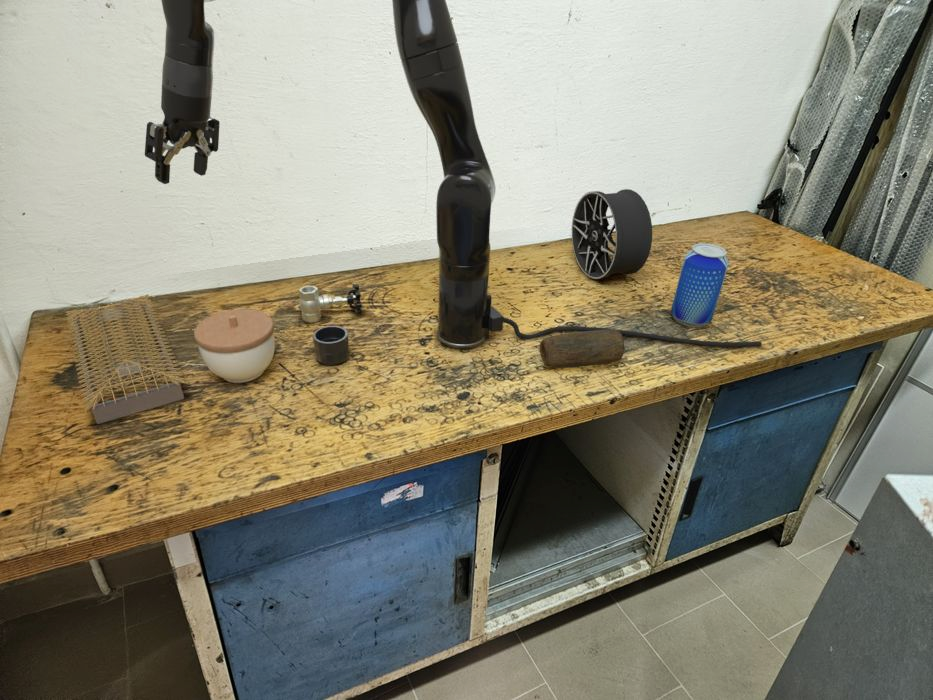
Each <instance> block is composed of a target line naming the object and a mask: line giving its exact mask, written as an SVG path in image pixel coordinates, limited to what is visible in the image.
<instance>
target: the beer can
mask: <svg viewBox="0 0 933 700" xmlns="http://www.w3.org/2000/svg"><path fill="white" fill-rule="evenodd" d="M727 255H728V252H727V250H726V249H725V248H723V247H722V246H719V245H717V244H713V243H708V242H707V243H706V242H705V243H704V242H701V243H695V244H693V245H692V246H691V249H690V250H689V251H688V252H686V254H685V255H684V258H683V263H682V266H681V270H680V274H679V277H678V282H677V284H676V290H675V293H674V297H673V300H672V305H671V309H670V312H671V315H672V317H673V320H674V321H675V322H676V323H677V324H680V325H682V326H685V327H688V328H695V329H697V328H703V327H705V326H706V325H707V324H709V323H710V322H712V321H713V318H714V315H715V311H716V308H717V304H718V301H719V297H720V296H721V292H722V288H723V284H724V282H725V278H726V274H727V272H728V268H729V264H730V263H729V260H728V256H727Z"/></svg>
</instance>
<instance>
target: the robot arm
mask: <svg viewBox="0 0 933 700" xmlns="http://www.w3.org/2000/svg"><path fill="white" fill-rule="evenodd" d="M160 1H161V6H162V12H163V15H164V20H165V24H166V25H165V26H166V27H165V41H164V42H165V43H164V57H163V62H162V72H161V96H160V98H161V99H160V109H161V111H162V113H163V115H164V118H163V121H162V123H159V124H158V123H157V124H156V123H154V122H152V121H148V122H147V124H146V131H145V144H144V157H146V158H148V159H149V160H151V161H153V162H154V163H155V164H154V165H155V166H154V177H155V179H156V181H158V182H160V183H161V184H163V185H167V184H170V178H171V177H170V176H171V161H172V159H173V158H174V156H177V155H179V154H180V152H181V150H183V149H186V148H188V147H189V148H194V149H195V152H194V156H193V157H194V158H193V172H194V173H195V174H197V175H199V176H201V177H203V176H206V174H207V170H208V163H209V157H210V156H211V153H213V152H214V153H216V152H218V150H219V142H220V125H221V123H220V121H219V120H218V119H217V118H214V117H212V116H211V111H212V99H213V98H212V96H213V87H214V86H213V85H214V69H213V67H214V54H215V31H214V28H213V27H212V25H211V24H210V23H209V22H207V20H206V14H205V13H206V12H205V3H211V2H215V1H216V0H160ZM391 2H392V13H393V14H392V15H393V25H394V34H395V41H396V47H397V52H398V57H399V60H400V63H401V67H402V69H403V73H404V75H405V79H406V83H407V86H408V88H409V91H410V94H411V96H412V98H413V100H414V103H415V104H416V106H417V108H418V110H419V113H421V115H422V117H423V119H424V120H425V121H426V124H427V125H428V127H429V129H430V130H431V133H432V135H433V137H434V140H435V142H436V146H437V150H438V154H439V157H440V161H441V168H442V172H443V173H442V174H443V179H442V180H441V183H440V184H439V186H438V189H437V193H436V194H437V195H436V203H435V208H436V209H435V211H436V213H435V215H436V219H435V220H436V222H435V223H436V242H437V246H438V316H437V317H438V319H437V339H438V341H439V342H440V343H441V344H443V345H444V346H446V347H449V348H452V349H458V350H467V349H473V348H477V347H478V346H481V345H482V344H483V343H484V342H485V341H486V340H489V339H490V333H496V332H497V333H498V332H500V331H503V328H504V324H508V325H510V326H511V327H512V329H513V332H514V334H515V336H516V337H518V338H519V339H522V340H523V339H524V340H531V339H537V338H541V337H543V336H546V335H548V334H552V333H558V332H583V331H594V330H607V329H609V328H607V327H594V326H593V327H592V326H576V325H575V326H572V325H571V326H554V327H549V328H546V329H543V330H541V331H538V332H536V333H532V334H526V333H522V332H520V329H519V325H518V323H516V322H515V321H514V320H512V319H510V318H508V317H504V315H502V313H500V311H498V310H497V309H496V307H494V306H493V305H492V300H493V298H492V297H493V296H492V294H490V293H489V277H490V276H489V275H490V261H491V241H490V230H491V213H492V212H491V211H492V205H493V203H494V200H495V197H496V196H495V195H496V181H495V178H494V175H493V172H492V169H491V167H490V164H489V161H488V159H487V156H486V153H485V150H484V147H483V145H482V142H481V139H480V136H479V133H478V130H477V126H476V120H475V115H474V110H473V104H472V103H473V102H472V99H471V95H470V89H469V83H468V80H467V76H466V71H465V66H464V61H463V57H462V53H461V49H460V45H459V42H458V37H457V35H456V31H455V28H454V24H453V21H452V18H451V14H450V11H449V7H448V4H447V1H446V0H391ZM168 143H170V144H171V145H170V144H168ZM165 152H166V153H165ZM164 153H165V154H164ZM611 329H612V330H617V331H619V332H620V333H621V334H622V336H626V337H634V338H641V339H648V340H655V341H656V340H657V341H663V342H669V343H674V344H675V343H676V344H683V345H684V344H685V345H691V346H701V347H712V348H713V347H714V348H755V347H756V348H757V347H762V345H763V343H762V341H736V342H735V341H734V342H733V341H732V342H730V341H729V342H727V341H709V340H699V339H690V338H681V337H673V336H666V335H661V334H660V335H659V334H654V333H648V332H647V333H646V332H640V331H632V330H624V329H617V328H611Z"/></svg>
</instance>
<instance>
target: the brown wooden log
mask: <svg viewBox="0 0 933 700" xmlns="http://www.w3.org/2000/svg"><path fill="white" fill-rule="evenodd" d="M612 329H613V328H608V329H607V330H594V331H583V332H582V331H573V332H567V333H561V334H554V335H551V336H547V337H544V338H543V339H541V341H540V342H539V353H540V354H539V355H540V358H541V361H542V363H543V365H544V367H545V368H551V369H570V368H571V369H573V368H583V367H591V366H592V367H593V366H600V365H607V364H611V363H615V362H619V361H620V360H622V358H623V356H624V353H625V340H624V336H623V335H622V334H621V333H620V332H619V331H617V330H618V329H617V330H612Z"/></svg>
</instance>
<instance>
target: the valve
mask: <svg viewBox="0 0 933 700" xmlns="http://www.w3.org/2000/svg"><path fill="white" fill-rule="evenodd" d="M351 286H352V288H353V289H351V290H349V291H348V292H347V295H346V296H345V297H342V296H334V298H332V297H329V295H328V294H322V296H320V291H319V288H318V287H316V286H314V285H304V286H301V287H300V288H299V290H298V297H299V302H298V304H299V309H300V310H301V313H300V314H301V319H302V320H303V321H304V322H306V323H316V322H318V321H319V320H321V318H322V311H321V310H322V309H323V310H324V311H327V310H330V309H331V307H333V305H335V306H342V305H343V304H346V305H347V306H349V308H350V309H351V310H355V314H356V316H359V315H362V314H363V310H362V308H363V303H362V302H361V297H362V296H361V294H362V293H361V291H360V285H359V283H352V285H351Z"/></svg>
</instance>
